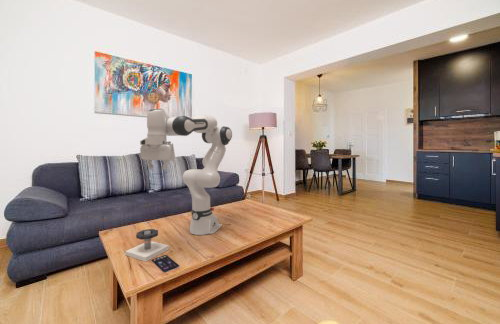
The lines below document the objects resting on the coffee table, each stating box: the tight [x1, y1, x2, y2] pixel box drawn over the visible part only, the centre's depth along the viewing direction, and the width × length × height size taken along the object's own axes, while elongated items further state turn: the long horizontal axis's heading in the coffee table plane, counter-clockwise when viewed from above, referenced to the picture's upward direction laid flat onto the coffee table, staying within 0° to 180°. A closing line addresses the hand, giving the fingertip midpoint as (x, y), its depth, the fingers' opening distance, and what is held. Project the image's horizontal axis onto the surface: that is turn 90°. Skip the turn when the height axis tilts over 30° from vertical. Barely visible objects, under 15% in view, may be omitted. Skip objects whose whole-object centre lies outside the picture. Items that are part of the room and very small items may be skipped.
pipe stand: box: [124, 231, 170, 263], centre depth 110 cm, size 14×14×10 cm
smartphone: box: [150, 254, 181, 274], centre depth 100 cm, size 8×1×15 cm
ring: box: [135, 228, 159, 241], centre depth 110 cm, size 10×10×1 cm
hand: (157, 169), depth 111 cm, fingers open, 8 cm apart
